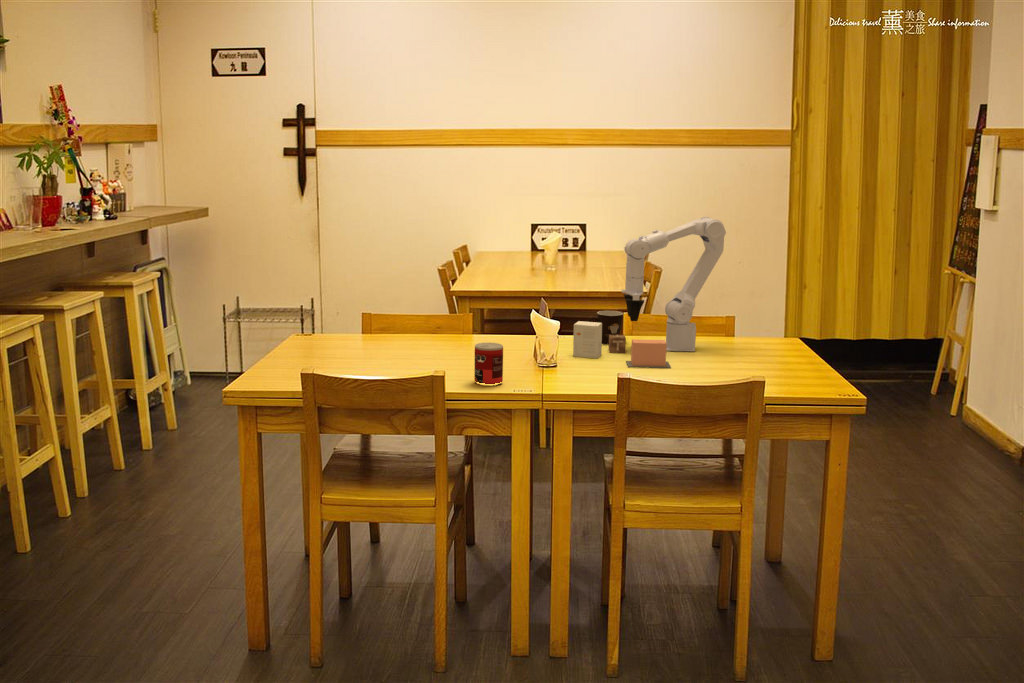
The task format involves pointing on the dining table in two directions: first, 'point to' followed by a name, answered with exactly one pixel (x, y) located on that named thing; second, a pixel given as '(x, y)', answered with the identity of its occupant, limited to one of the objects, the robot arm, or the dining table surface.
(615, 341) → the letter cube
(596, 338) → the small box
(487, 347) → the canned food
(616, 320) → the coffee mug
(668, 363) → the mat
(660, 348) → the pink rectangular block
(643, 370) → the dining table surface
